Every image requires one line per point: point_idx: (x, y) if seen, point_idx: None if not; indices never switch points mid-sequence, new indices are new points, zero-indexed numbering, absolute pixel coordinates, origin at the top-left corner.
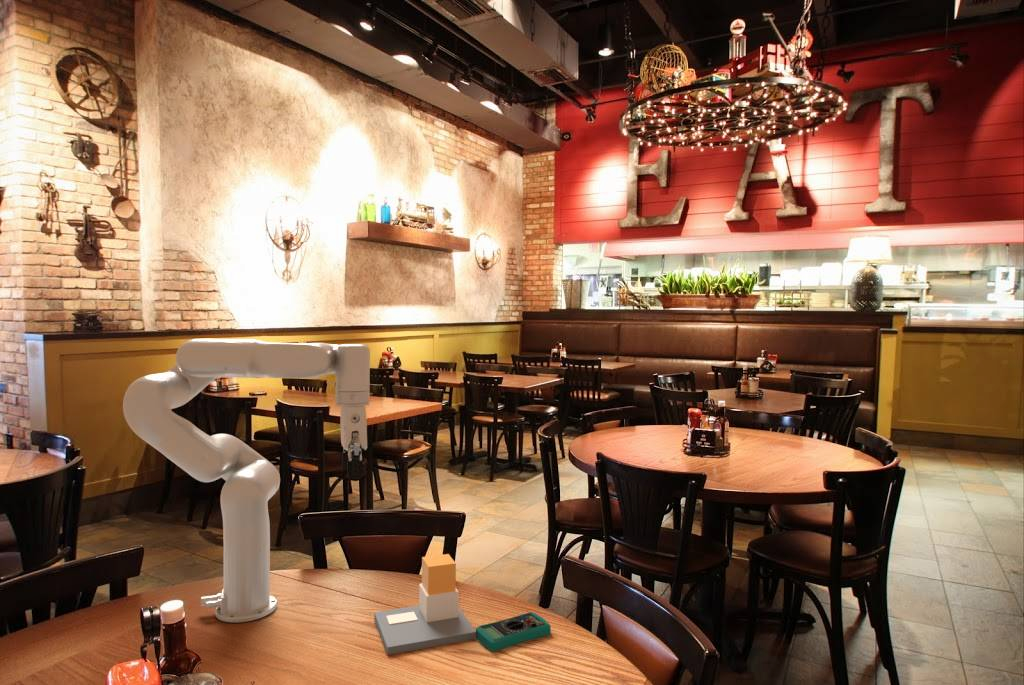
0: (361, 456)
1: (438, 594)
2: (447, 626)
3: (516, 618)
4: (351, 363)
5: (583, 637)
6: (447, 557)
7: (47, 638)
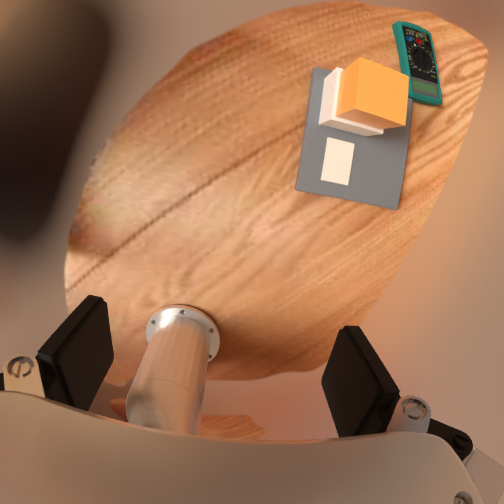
0: (428, 417)
1: None
2: None
3: (407, 44)
4: None
5: (437, 20)
6: (376, 69)
7: None
